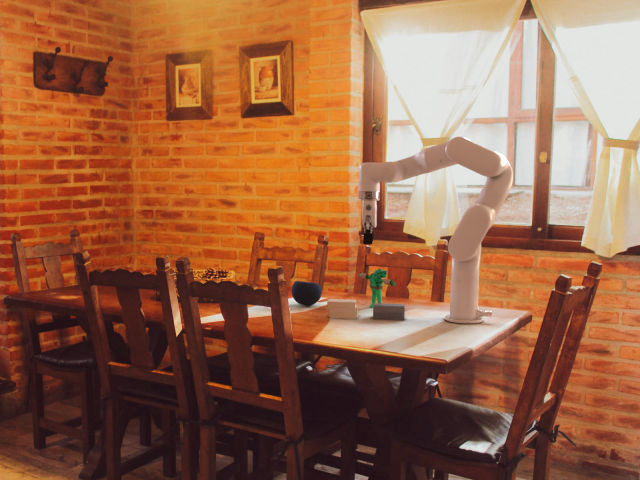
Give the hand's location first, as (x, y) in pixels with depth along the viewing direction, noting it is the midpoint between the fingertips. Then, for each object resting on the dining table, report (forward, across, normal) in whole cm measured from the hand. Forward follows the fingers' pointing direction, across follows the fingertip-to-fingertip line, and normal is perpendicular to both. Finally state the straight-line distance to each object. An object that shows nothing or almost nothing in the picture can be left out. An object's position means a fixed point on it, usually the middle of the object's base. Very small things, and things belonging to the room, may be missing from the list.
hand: (368, 242), depth 276 cm
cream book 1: (+22, -9, +9) cm, 26 cm away
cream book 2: (+24, -9, +8) cm, 27 cm away
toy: (+26, +11, -4) cm, 29 cm away
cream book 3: (+26, -9, +8) cm, 29 cm away
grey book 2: (+26, -9, -8) cm, 29 cm away
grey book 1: (+24, -9, -8) cm, 27 cm away
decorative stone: (+26, +11, +24) cm, 37 cm away
